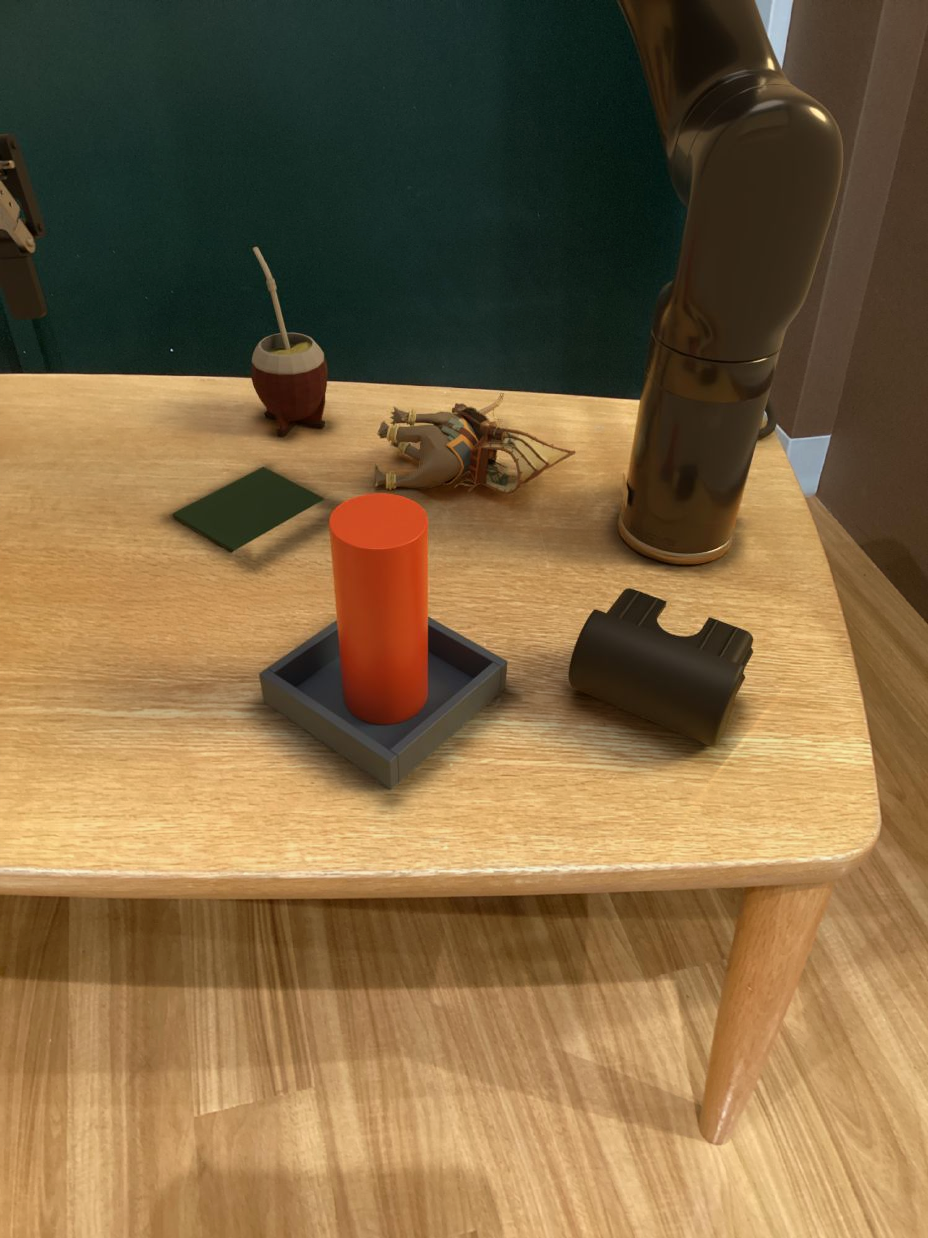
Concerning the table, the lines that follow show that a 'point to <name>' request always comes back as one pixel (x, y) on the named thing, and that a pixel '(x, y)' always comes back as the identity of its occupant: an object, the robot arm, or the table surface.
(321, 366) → the mate gourd
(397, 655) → the tube
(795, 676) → the table surface
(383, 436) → the figurine
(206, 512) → the mat
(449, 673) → the dark grey square tray
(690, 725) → the end cap
